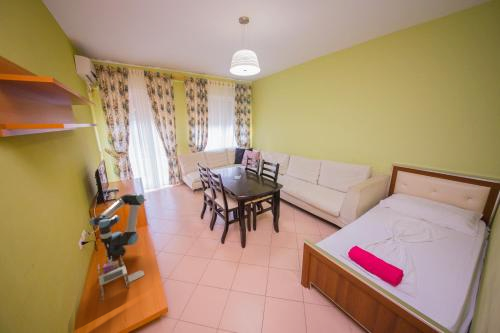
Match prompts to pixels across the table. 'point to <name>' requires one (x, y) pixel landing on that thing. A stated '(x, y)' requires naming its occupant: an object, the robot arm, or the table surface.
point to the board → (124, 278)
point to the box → (110, 267)
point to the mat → (135, 276)
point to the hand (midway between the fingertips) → (109, 258)
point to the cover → (112, 275)
